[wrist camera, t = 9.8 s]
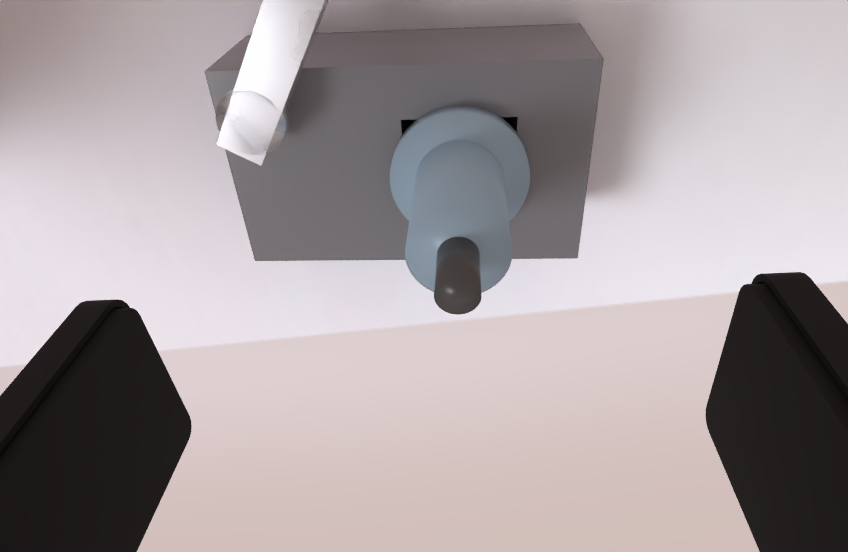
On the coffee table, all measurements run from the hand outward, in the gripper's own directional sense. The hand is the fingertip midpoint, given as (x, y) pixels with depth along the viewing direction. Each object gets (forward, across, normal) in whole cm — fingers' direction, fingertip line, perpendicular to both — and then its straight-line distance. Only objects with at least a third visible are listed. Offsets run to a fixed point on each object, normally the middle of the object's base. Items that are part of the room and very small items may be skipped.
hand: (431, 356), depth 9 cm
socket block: (+24, +2, +6) cm, 25 cm away
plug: (+22, 0, +6) cm, 23 cm away
